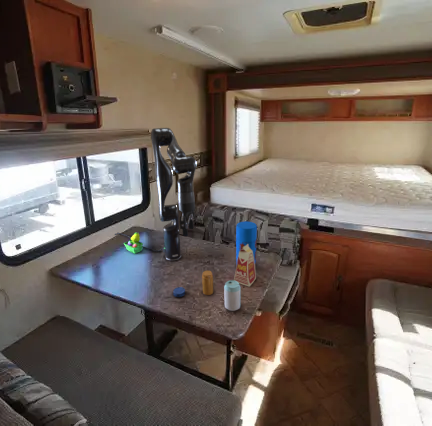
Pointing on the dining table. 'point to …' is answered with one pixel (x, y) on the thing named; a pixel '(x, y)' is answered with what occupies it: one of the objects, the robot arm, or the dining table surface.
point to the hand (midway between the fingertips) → (188, 232)
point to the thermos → (246, 237)
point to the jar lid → (179, 292)
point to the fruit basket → (134, 244)
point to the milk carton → (245, 267)
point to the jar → (207, 282)
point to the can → (232, 295)
